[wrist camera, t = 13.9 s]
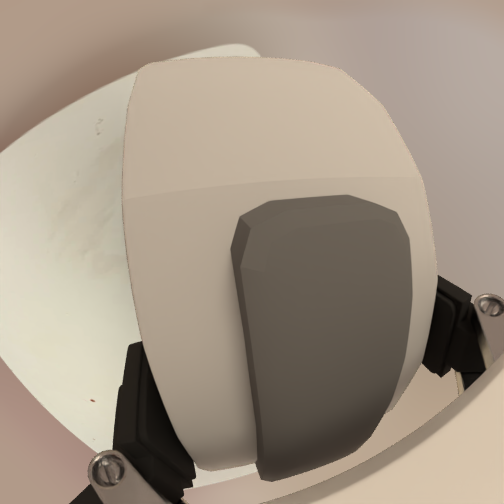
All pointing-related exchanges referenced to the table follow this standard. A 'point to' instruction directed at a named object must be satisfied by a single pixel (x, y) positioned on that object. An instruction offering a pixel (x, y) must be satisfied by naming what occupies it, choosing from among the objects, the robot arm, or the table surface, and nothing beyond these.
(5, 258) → the table surface
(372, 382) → the alarm clock
